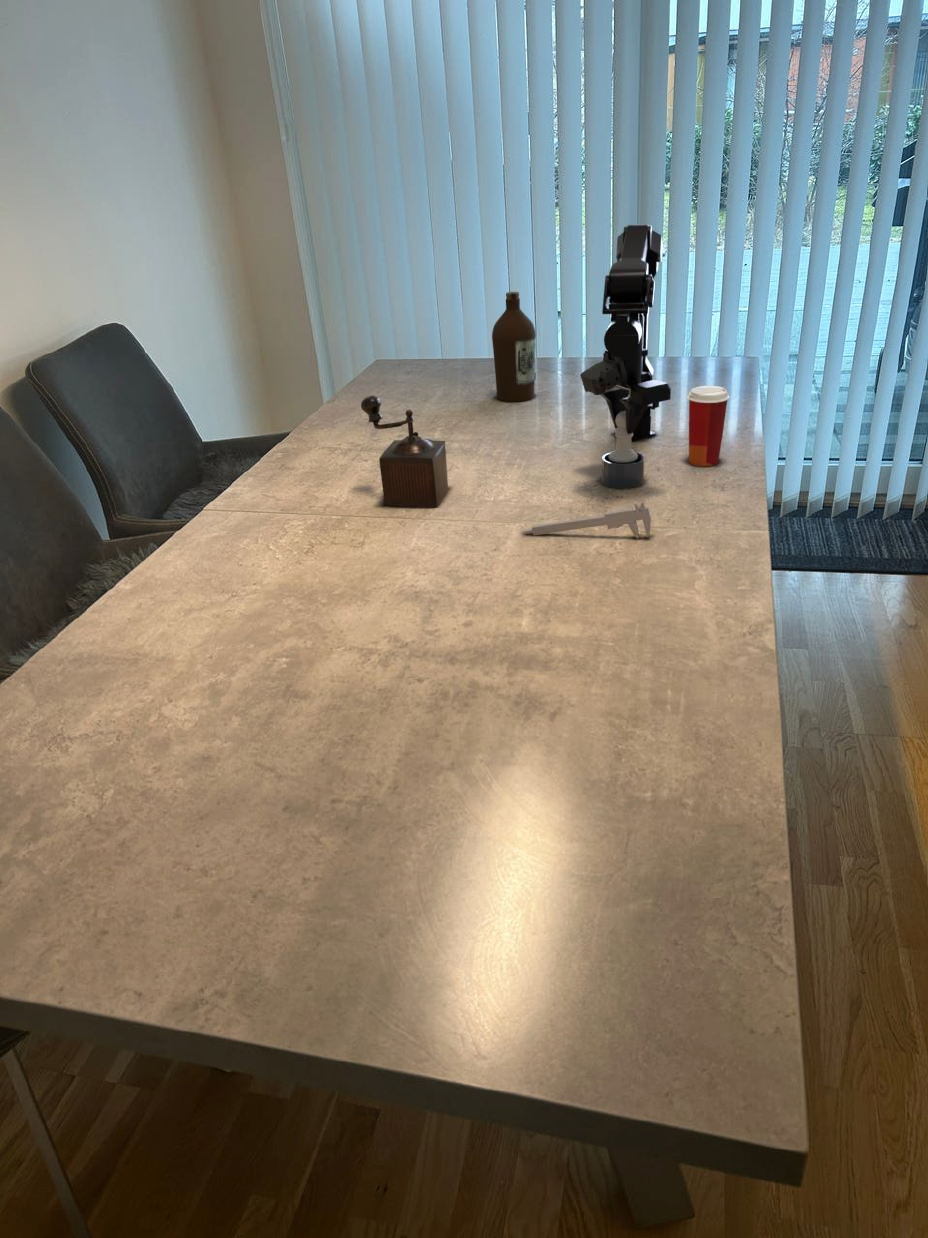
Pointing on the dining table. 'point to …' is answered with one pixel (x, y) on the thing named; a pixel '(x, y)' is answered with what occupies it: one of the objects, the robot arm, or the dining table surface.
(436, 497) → the manual coffee grinder
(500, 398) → the olive oil
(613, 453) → the chess piece
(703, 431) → the paper cup
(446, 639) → the dining table surface
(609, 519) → the caliper
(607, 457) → the ceramic cup
